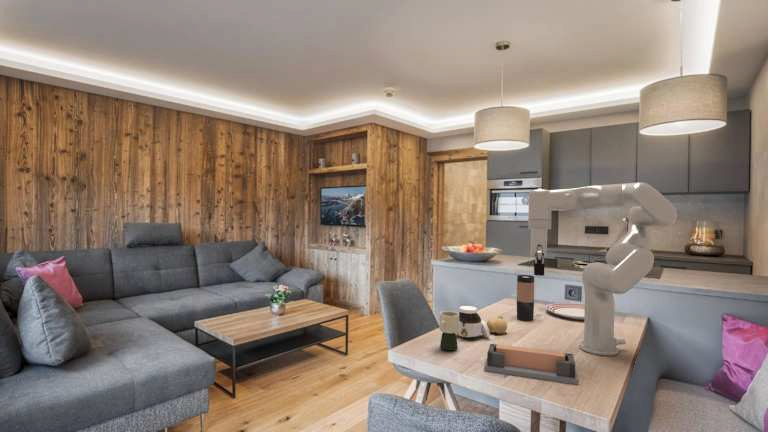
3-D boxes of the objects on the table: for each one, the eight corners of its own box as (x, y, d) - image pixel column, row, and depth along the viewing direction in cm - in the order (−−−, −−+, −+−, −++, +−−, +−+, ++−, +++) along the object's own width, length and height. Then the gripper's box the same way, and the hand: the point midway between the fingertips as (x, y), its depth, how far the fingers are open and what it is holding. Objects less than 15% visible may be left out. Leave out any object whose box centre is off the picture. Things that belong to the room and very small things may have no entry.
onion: (499, 337, 157) (499, 319, 157) (482, 332, 163) (482, 315, 163) (510, 333, 162) (510, 316, 162) (494, 328, 168) (494, 312, 168)
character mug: (447, 343, 149) (448, 308, 149) (464, 347, 145) (465, 312, 145) (432, 351, 141) (432, 314, 141) (450, 355, 136) (450, 318, 136)
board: (484, 370, 124) (484, 366, 124) (487, 358, 134) (488, 354, 134) (578, 384, 114) (578, 379, 114) (574, 370, 125) (574, 365, 125)
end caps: (487, 365, 124) (487, 352, 124) (490, 355, 133) (490, 343, 133) (575, 378, 116) (575, 364, 116) (572, 366, 124) (572, 354, 124)
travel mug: (535, 318, 184) (536, 275, 184) (531, 322, 178) (532, 278, 178) (518, 316, 188) (519, 274, 188) (514, 319, 182) (515, 276, 182)
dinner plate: (548, 320, 183) (548, 313, 183) (543, 306, 209) (543, 300, 209) (615, 325, 175) (615, 318, 175) (601, 310, 201) (601, 304, 201)
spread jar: (451, 335, 158) (452, 306, 158) (470, 330, 165) (470, 302, 165) (475, 344, 149) (475, 313, 149) (494, 338, 156) (494, 308, 155)
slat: (495, 363, 126) (496, 347, 126) (496, 359, 129) (497, 344, 129) (564, 373, 119) (565, 356, 119) (563, 368, 122) (564, 352, 122)
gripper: (528, 223, 148) (527, 269, 149) (528, 225, 132) (527, 276, 133) (550, 224, 146) (549, 270, 146) (552, 225, 130) (551, 277, 130)
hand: (538, 273), depth 139 cm, fingers open, 9 cm apart
